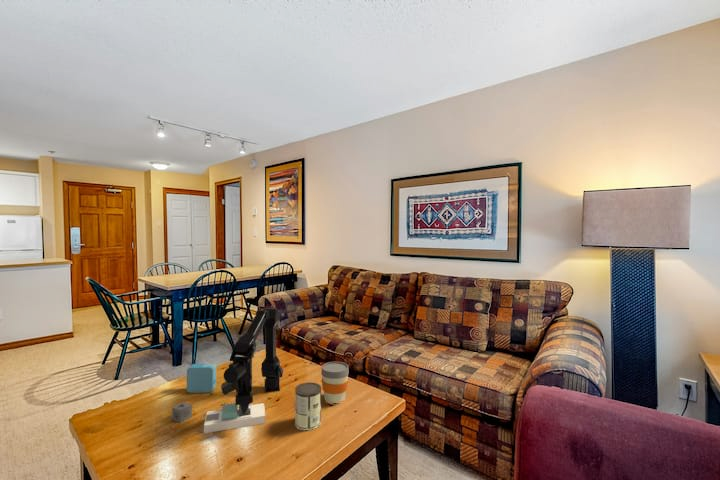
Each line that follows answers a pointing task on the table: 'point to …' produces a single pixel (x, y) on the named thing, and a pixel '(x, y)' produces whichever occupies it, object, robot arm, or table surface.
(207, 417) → the socket strip
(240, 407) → the white rectangular block
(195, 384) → the data package
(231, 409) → the block
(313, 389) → the coffee can
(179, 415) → the dice cube
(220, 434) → the table surface
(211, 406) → the table surface
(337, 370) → the reusable coffee cup
